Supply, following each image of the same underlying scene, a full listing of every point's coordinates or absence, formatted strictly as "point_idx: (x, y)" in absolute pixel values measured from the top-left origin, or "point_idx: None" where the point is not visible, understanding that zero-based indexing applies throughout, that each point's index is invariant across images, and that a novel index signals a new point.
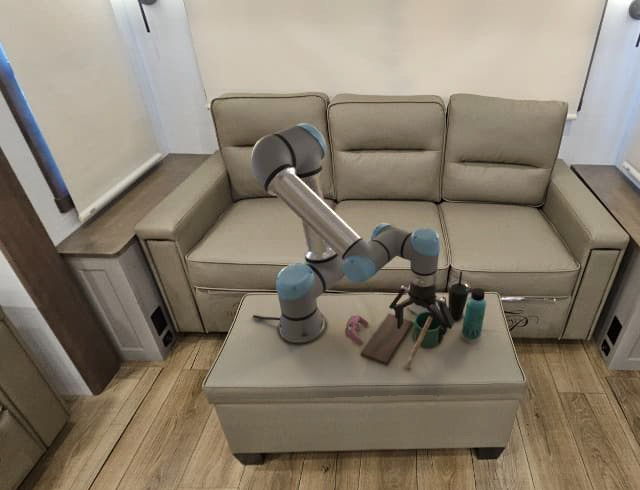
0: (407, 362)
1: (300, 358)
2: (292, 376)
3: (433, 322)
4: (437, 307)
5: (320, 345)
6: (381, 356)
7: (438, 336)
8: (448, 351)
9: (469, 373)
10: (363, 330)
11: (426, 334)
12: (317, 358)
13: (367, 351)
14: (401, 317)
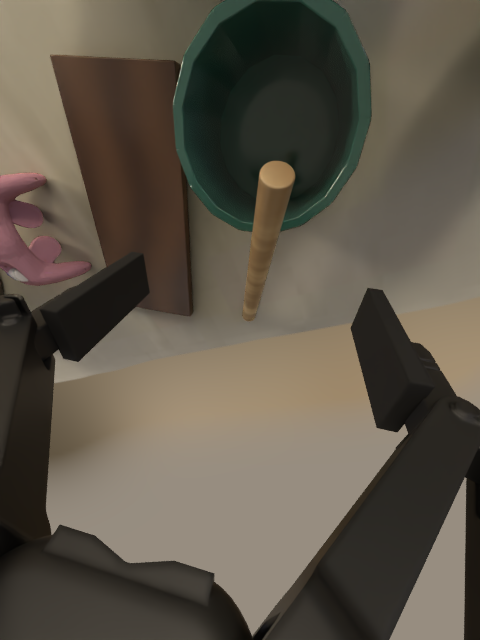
0: (245, 314)
1: None
2: (63, 370)
3: (292, 39)
4: (394, 618)
5: (29, 298)
6: (167, 301)
7: (360, 361)
8: (387, 192)
9: (473, 276)
10: (57, 208)
11: None
12: None
13: None
14: (108, 306)
